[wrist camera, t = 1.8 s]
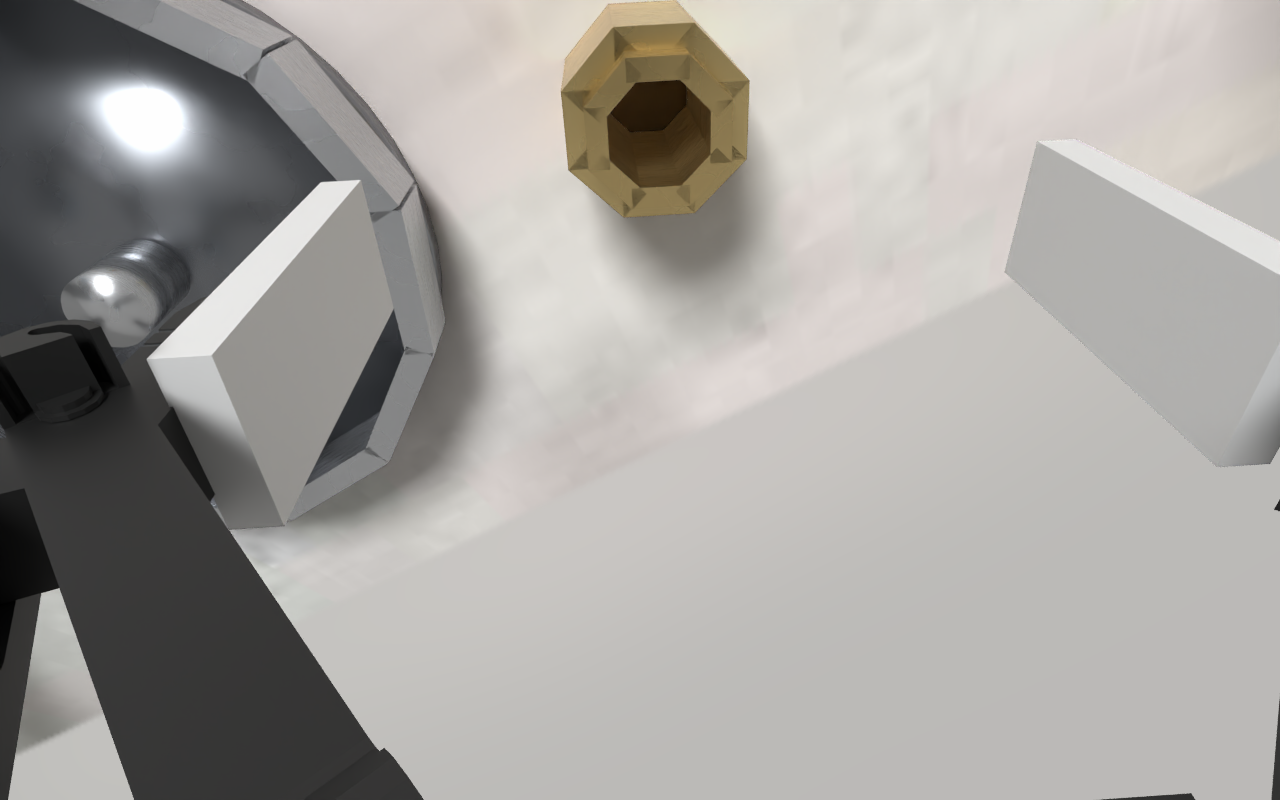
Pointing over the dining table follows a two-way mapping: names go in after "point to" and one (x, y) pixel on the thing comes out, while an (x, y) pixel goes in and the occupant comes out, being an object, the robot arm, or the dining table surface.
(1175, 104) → the dining table surface
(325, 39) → the dining table surface
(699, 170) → the tan octagonal cup
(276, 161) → the dark pot lid
